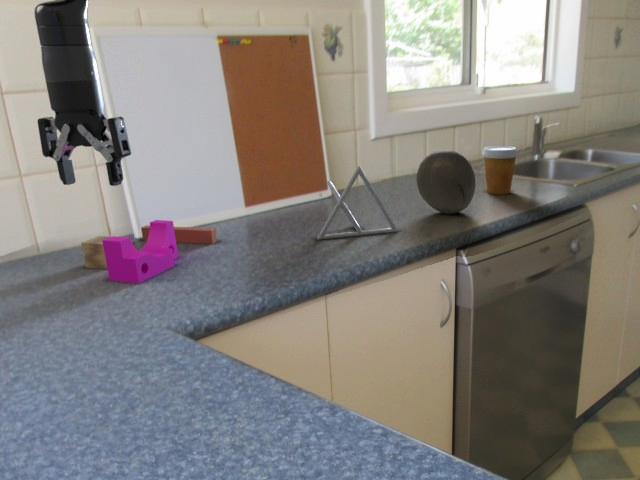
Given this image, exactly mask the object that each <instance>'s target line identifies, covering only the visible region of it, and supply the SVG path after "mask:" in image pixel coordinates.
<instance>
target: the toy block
mask: <svg viewBox="0 0 640 480" xmlns="http://www.w3.org/2000/svg"><path fill="white" fill-rule="evenodd" d="M149 226H150V231H149V236H148V240H147V241H146V242H145V244H144V246H143V247H142V248H141V249H140V250H139V251H138V250H137V249H136V247H135V245H134V244H133V241H132V239H131V237H126V236H115V235H114V236H110V238H107V239H104V240H102V242H103V248H104V253H105V258H106V264H107V269H106V270H107V275H108V279H109V281H115V282H123V283H124V282H125V283H135V284H140V283H142V282H145V281H147V280H149V279H151V278H153V277H154V276H157V275H159V274H161V273H162V272H165V271H167V270H169V269H171V268H173V267H175V265H176V264H175V260H176V259H178V258H179V253H178V246H177V242H176V239H175V232H174V227H175V226H174V220H166V219H165V220H164V219H163V220H162V219H155V220H152V221H150V222H149Z"/></svg>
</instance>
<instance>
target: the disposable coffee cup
mask: <svg viewBox="0 0 640 480" xmlns="http://www.w3.org/2000/svg"><path fill="white" fill-rule="evenodd" d="M518 154H519V152H518V151H517V147H515V146H511V145H493V146H485V147H484V148H483V151H482V157H483V163H484V173H485V184H486V193H488V194H492V195H493V194H494V195H507V194H510V193H511V188H512V184H513V177H514V171H515V165H516V159H517V157H518V156H517V155H518Z"/></svg>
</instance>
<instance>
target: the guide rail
mask: <svg viewBox="0 0 640 480" xmlns="http://www.w3.org/2000/svg"><path fill="white" fill-rule="evenodd" d="M140 230H141V231H140V232H141V235H142V236H141V237H142V241H146V242H147V240H148V236H149V231H150V225H147V226H146V225H144V226H142V227H141V228H140ZM174 232H175V239H176V243H183V244H187V243H188V244H205V245H206V244H207V245H214V244H215V243H217V242H218V237H217V230H216V228H213V227H211V228H210V227H208V228H207V227H190V226H189V227H185V226H174Z"/></svg>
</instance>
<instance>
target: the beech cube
mask: <svg viewBox="0 0 640 480" xmlns="http://www.w3.org/2000/svg"><path fill="white" fill-rule="evenodd" d="M110 237H111V236H107V235H97V236H95V237H92V238H90V239H88V240H85V241H82V242H80V244H81V250H82V254H83V259H84V265H85V268H89V269H91V268H92V269H105V270H108V269H107V264H106V258H105V253H104V248H103V242H102V240H104V239H107V238H110Z"/></svg>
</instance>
